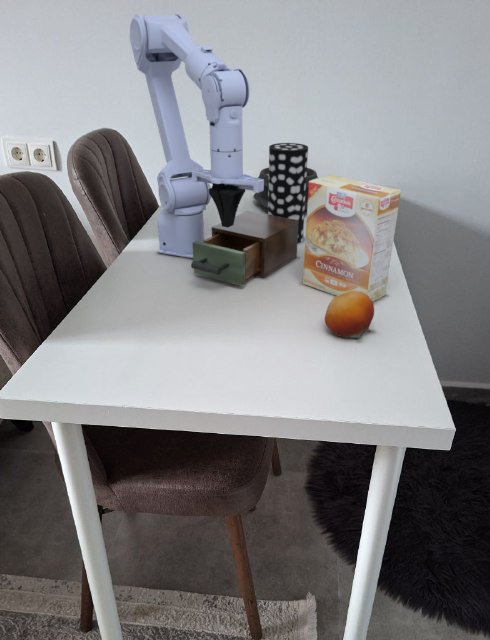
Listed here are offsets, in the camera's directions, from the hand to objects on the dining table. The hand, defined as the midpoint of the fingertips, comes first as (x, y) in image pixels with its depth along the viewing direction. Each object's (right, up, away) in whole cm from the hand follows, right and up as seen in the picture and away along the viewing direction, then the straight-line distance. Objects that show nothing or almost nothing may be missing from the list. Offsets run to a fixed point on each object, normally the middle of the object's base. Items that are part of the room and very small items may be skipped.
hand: (227, 225), depth 108 cm
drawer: (0, -8, +6) cm, 10 cm away
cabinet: (+5, -4, +13) cm, 14 cm away
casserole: (+14, +21, +48) cm, 54 cm away
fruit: (+21, -22, -12) cm, 32 cm away
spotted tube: (+12, +4, +25) cm, 28 cm away
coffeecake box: (+22, -12, +1) cm, 25 cm away
